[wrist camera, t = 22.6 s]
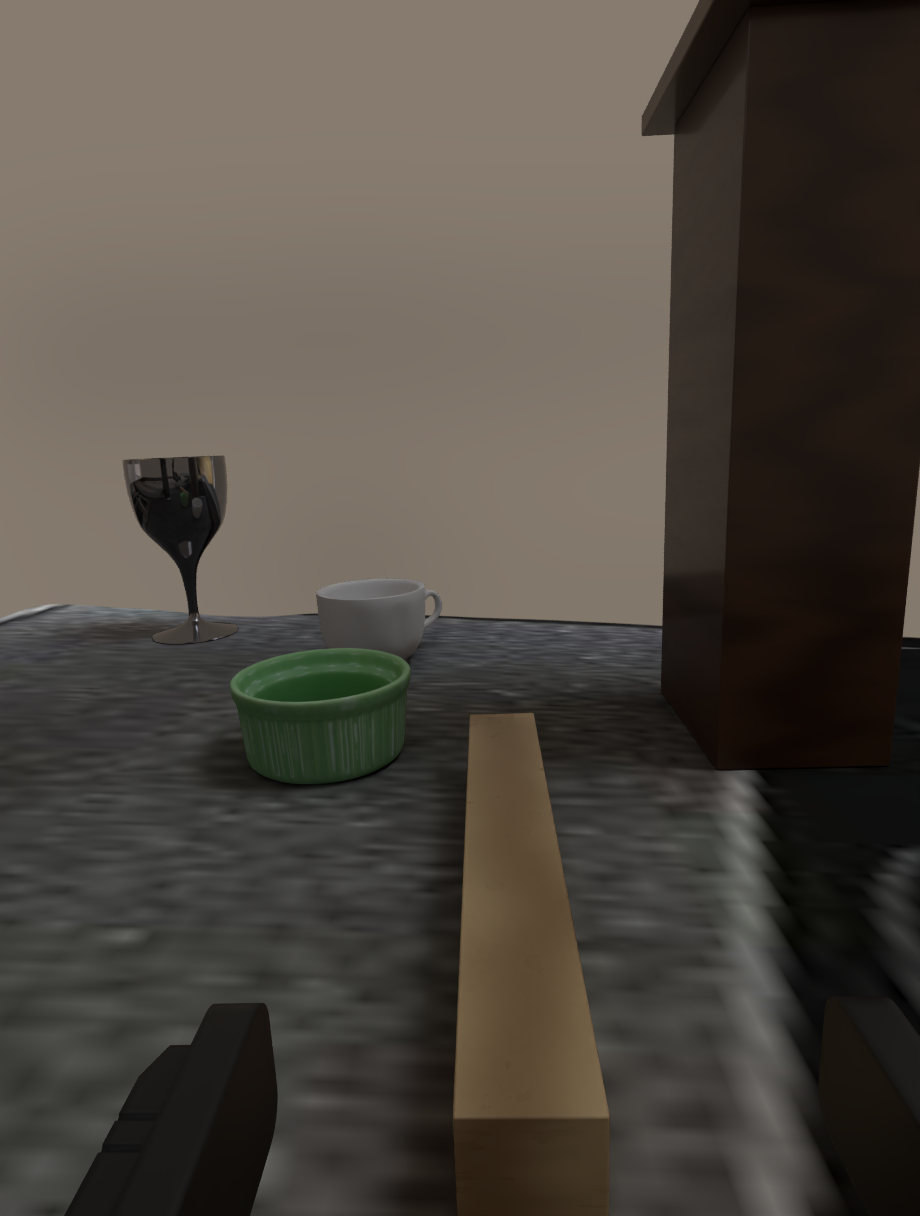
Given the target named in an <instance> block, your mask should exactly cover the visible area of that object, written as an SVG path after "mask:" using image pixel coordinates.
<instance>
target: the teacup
mask: <svg viewBox="0 0 920 1216" xmlns="http://www.w3.org/2000/svg"><path fill="white" fill-rule="evenodd" d="M430 595H431V596H433V598H434V600H435V610H434V612H433V614H432V615H431V616H430V617H429V618H427V619H425V600H426V598H427V597H428V596H430ZM316 597H317V605H318V613H319V619H320V625H321V630H322V635H323V638H324V641H325V643H326V645H327V647H328V649H330V648H333V649H334V648H358V649H370V650H377V651H382V652H387V653H390V654H394V655H396V656H398V657H400V658H402V659H404V660H406V658H408V657H409V656H411V655H412V654H413V653H414V652H415V650H416V649H417V647H418V646H419V644H420V642H421V639H422V635H423V631H424V629H425V628H426V627H428V626H429V625H430V624H432V623H433V622H434V621H435V620H436V619H437V618H438V616H439V615H440V612H441V610H442V602H441V598H440V596H439V595H438V593H436V592H435V591H432V590H425V585H424V584H423V583H422V582H419V581H416V580H410V579H398V578H378V579H363V580H354V581H347V582H341V583H336V584H333V585H329V586H326V587H323V588H321V589H319V590H318V591H317V592H316Z"/></svg>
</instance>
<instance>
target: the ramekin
mask: <svg viewBox="0 0 920 1216" xmlns="http://www.w3.org/2000/svg"><path fill="white" fill-rule="evenodd" d="M410 674H411V670H410V666H409V664H408V663H407V662H406V661H405V660H404V659H402V658H400V657H398V656H396V655H394V654H390V653H387V652H382V651H377V650H370V649H358V648H334V649H333V648H330V649H318V650H309V651H302V652H296V653H290V654H286V655H282V656H277V657H273V658H270V659H267V660H264V661H261V662H258V663H256V664H254V665H251V666H249V667H247V668H245V669H243V670H241V671H240V672H238V673H237V674H236V675H235V676H234V677H233V678H232V680H231V682H230V691H231V695H232V698H233V701H234V702H235V703H236V706H237V709H238V714H239V719H240V724H241V729H242V735H243V740H244V745H245V751H246V755H247V759H248V761H249V763H250V766H251V767H252V768H253V769H254V770H255V771H257V772H258V773H259V774H261V775H263V776H265V777H267V778H270V779H273V780H276V781H280V782H286V783H292V784H324V783H333V782H340V781H345V780H350V779H354V778H358V777H361V776H364V775H367V774H370V773H372V772H374V771H376V770H378V769H380V768H382V767H384V766H385V765H387V764H389V763H390V762H391V761H393V760H394V759H395V758H396V757H397V756H398V754H399V753H400V752H401V750H402V748H403V745H404V740H405V721H406V697H407V687H408V685H409V681H410Z"/></svg>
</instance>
